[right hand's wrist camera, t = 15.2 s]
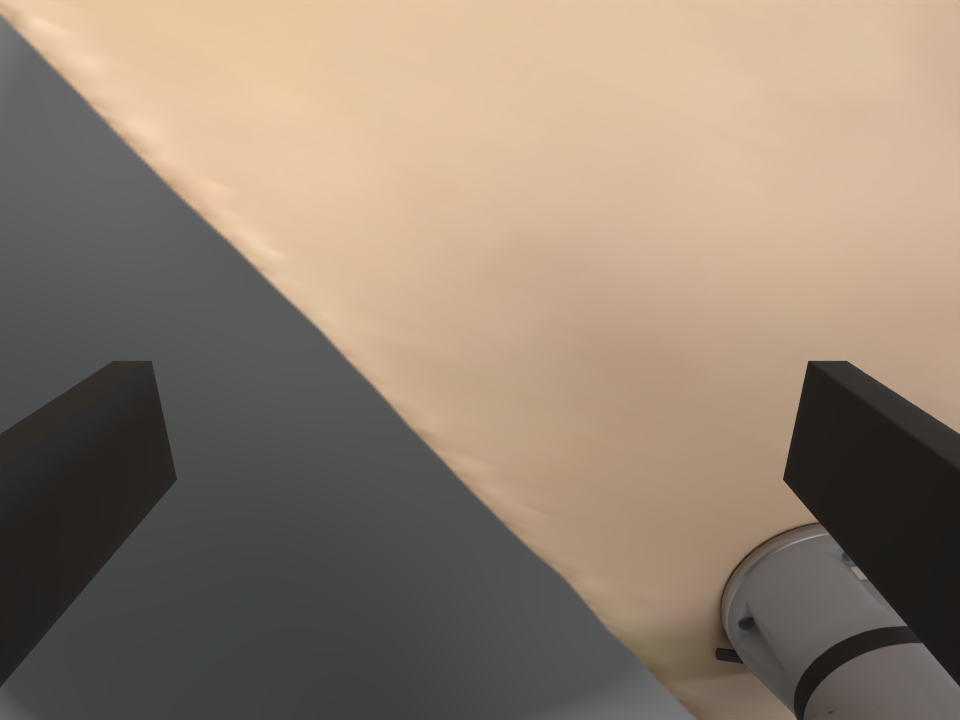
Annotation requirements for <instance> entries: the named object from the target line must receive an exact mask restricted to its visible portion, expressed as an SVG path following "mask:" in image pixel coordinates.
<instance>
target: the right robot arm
mask: <svg viewBox="0 0 960 720" xmlns="http://www.w3.org/2000/svg"><path fill="white" fill-rule="evenodd" d="M176 480H177V477H176V473H175V468H174V463H173V459H172V454H171V449H170V445H169V440H168V435H167V431H166V426H165V421H164V417H163V412H162V407H161V403H160V398H159V393H158V388H157V384H156V379H155V375H154V370H153V365H152V361H113V362H111V363H110V364H108V365H106V366H105V367H103V368H102V369H100V370H99V371H97V372H96V373H94V374H93V375H91V376H89V377H88V378H86V379H85V380H83V381H82V382H80V383H79V384H77V385H76V386H74V387H72V388H71V389H69V390H68V391H66V392H65V393H63V394H62V395H60V396H59V397H57V398H56V399H54V400H52V401H51V402H49V403H48V404H46V405H45V406H43V407H42V408H40V409H38V410H37V411H35V412H34V413H32V414H31V415H29V416H28V417H26V418H25V419H23V420H22V421H20V422H18V423H17V424H15V425H14V426H12V427H11V428H9V429H8V430H6V431H5V432H3V433H1V434H0V687H1V686H2V684H3V683H4V682H5V681H6V680H7V678H8V677H9V676H10V675H11V674H12V673H13V672H14V670H15V669H16V668H17V667H18V666H19V664H20V663H21V662H22V661H23V660H24V659H25V657H26V656H27V655H28V654H29V653H30V651H31V650H32V649H33V648H34V647H35V646H36V644H37V643H38V642H39V641H40V640H41V639H42V637H43V636H44V635H45V634H46V633H47V632H48V630H49V629H50V628H51V627H52V626H53V624H54V623H55V622H56V621H57V620H58V619H59V617H60V616H61V615H62V614H63V613H64V612H65V610H66V609H67V608H68V607H69V606H70V605H71V603H72V602H73V601H74V600H75V599H76V597H77V596H78V595H79V594H80V593H81V592H82V590H83V589H84V588H85V587H86V586H87V585H88V583H89V582H90V581H91V580H92V579H93V578H94V576H95V575H96V574H97V573H98V572H99V570H100V569H101V568H102V567H103V566H104V564H105V563H106V562H107V561H108V560H109V559H110V557H111V556H112V555H113V554H114V553H115V552H116V550H117V549H118V548H119V547H120V546H121V545H122V543H123V542H124V541H125V540H126V539H127V538H128V536H129V535H130V534H131V533H132V532H133V530H134V529H135V528H136V527H137V526H138V525H139V523H140V522H141V521H142V520H143V519H144V518H145V516H146V515H147V514H148V513H149V512H150V511H151V509H152V508H153V507H154V506H155V505H156V503H157V502H158V501H159V500H160V499H161V498H162V496H163V495H164V494H165V493H166V492H167V490H168V489H169V488H170V487H171V486H172V485H173V483H174V482H175V481H176ZM783 480H784V481H785V482H786V484H787V485H788V486H789V487H790V488H791V489H792V491H793V492H794V493H795V494H796V495H797V496H798V498H799V499H800V500H801V501H802V502H803V503H804V505H805V506H806V507H807V508H808V509H809V511H810V512H811V513H812V514H813V515H814V516H815V518H816V519H817V520H818V521H819V522H820V523H819V524H813V525H808V526H804V527H800V528H797V529H794V530H791V531H788V532H786V533H783V534H781V535H779V536H777V537H775V538H773V539H771V540H769V541H768V542H766V543H765V544H763V545H762V546H760V547H759V548H758V549H756V550H755V551H754V552H752V553H751V554H750V555H749V556H748V557H747V558H746V559H745V560H744V561H743V562H742V563H741V564H740V565H739V567H738V568H737V569H736V570H735V572H734V573H733V575H732V577H731V578H730V580H729V582H728V584H727V586H726V589H725V591H724V594H723V598H722V605H721V617H722V623H723V626H724V629H725V632H726V634H727V636H728V638H729V640H730V642H731V644H732V646H733V648H734V650H729V649H721V648H717V649H716V658H717V659H718V660H722V661H729V662H736V663H742V664H745V665H746V666H747V667H748V668H749V669H750V670H751V671H752V672H753V673H754V674H755V675H756V676H757V677H758V679H759V680H760V681H761V682H762V683H763V684H764V685H765V686H766V687H767V688H768V689H769V690H770V691H771V692H772V693H773V694H774V695H775V696H776V697H777V698H778V699H779V700H780V701H781V702H782V703H783V704H784V705H785V706H786V707H787V708H788V709H789V710H790V711H791V712H792V713H793V714H794V715H795V716H796V718H797V720H960V434H959V433H957V432H955V431H954V430H952V429H951V428H949V427H948V426H946V425H945V424H943V423H942V422H940V421H938V420H937V419H935V418H934V417H932V416H931V415H929V414H928V413H926V412H925V411H923V410H921V409H920V408H918V407H917V406H915V405H914V404H912V403H911V402H909V401H908V400H906V399H905V398H903V397H901V396H900V395H898V394H897V393H895V392H894V391H892V390H891V389H889V388H888V387H886V386H884V385H883V384H881V383H880V382H878V381H877V380H875V379H874V378H872V377H871V376H869V375H867V374H866V373H864V372H863V371H861V370H860V369H858V368H857V367H855V366H854V365H852V364H851V363H849V362H847V361H808V365H807V370H806V374H805V379H804V384H803V388H802V393H801V398H800V403H799V407H798V412H797V417H796V421H795V426H794V431H793V435H792V440H791V445H790V449H789V454H788V459H787V463H786V468H785V473H784V477H783Z"/></svg>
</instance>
